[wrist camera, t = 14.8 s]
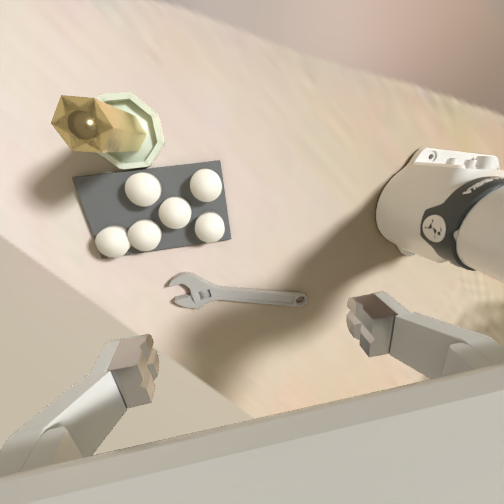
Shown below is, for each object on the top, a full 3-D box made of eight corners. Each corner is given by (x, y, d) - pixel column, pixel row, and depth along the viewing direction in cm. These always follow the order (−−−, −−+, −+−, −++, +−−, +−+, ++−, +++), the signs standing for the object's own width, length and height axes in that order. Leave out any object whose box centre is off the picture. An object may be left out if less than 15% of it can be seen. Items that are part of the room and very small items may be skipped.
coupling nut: (129, 106, 32) (82, 82, 20) (152, 143, 34) (122, 141, 22) (101, 122, 32) (38, 107, 20) (125, 158, 34) (81, 164, 22)
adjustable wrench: (307, 291, 49) (310, 296, 47) (296, 318, 51) (299, 324, 49) (174, 268, 42) (172, 273, 41) (168, 300, 45) (166, 306, 43)
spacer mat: (219, 160, 37) (220, 161, 34) (230, 237, 42) (232, 243, 39) (75, 177, 35) (64, 179, 32) (103, 256, 39) (96, 263, 37)
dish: (154, 92, 32) (151, 90, 31) (169, 163, 36) (167, 164, 35) (82, 98, 32) (77, 96, 30) (105, 170, 35) (101, 171, 34)
